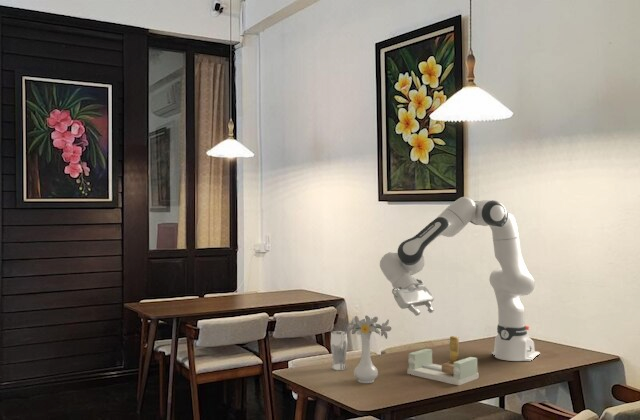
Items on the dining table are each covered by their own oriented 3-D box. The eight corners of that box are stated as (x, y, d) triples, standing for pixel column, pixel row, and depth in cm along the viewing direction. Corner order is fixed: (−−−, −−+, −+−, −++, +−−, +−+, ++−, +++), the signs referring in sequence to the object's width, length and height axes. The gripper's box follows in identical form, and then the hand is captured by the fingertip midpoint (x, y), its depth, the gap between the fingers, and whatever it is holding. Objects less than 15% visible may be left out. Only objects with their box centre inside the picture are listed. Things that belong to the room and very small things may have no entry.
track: (427, 367, 269) (427, 348, 269) (478, 378, 252) (478, 357, 252) (407, 373, 259) (407, 353, 259) (458, 385, 242) (458, 364, 242)
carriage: (456, 367, 257) (455, 334, 257) (466, 369, 254) (466, 336, 253) (441, 371, 250) (441, 338, 250) (452, 374, 246) (452, 340, 246)
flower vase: (396, 380, 249) (395, 316, 249) (358, 388, 239) (357, 321, 238) (374, 373, 260) (374, 311, 259) (337, 380, 249) (337, 316, 249)
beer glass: (346, 371, 263) (346, 334, 263) (329, 370, 265) (329, 334, 265) (348, 367, 270) (348, 331, 270) (332, 366, 272) (332, 330, 271)
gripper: (394, 284, 259) (414, 311, 252) (424, 279, 273) (444, 305, 267) (385, 294, 262) (405, 321, 255) (416, 289, 277) (435, 315, 270)
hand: (425, 313), depth 261 cm, fingers open, 8 cm apart
